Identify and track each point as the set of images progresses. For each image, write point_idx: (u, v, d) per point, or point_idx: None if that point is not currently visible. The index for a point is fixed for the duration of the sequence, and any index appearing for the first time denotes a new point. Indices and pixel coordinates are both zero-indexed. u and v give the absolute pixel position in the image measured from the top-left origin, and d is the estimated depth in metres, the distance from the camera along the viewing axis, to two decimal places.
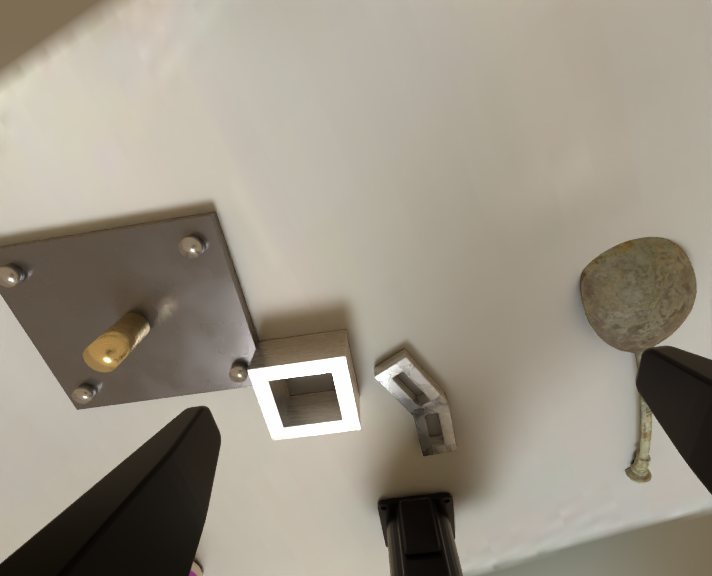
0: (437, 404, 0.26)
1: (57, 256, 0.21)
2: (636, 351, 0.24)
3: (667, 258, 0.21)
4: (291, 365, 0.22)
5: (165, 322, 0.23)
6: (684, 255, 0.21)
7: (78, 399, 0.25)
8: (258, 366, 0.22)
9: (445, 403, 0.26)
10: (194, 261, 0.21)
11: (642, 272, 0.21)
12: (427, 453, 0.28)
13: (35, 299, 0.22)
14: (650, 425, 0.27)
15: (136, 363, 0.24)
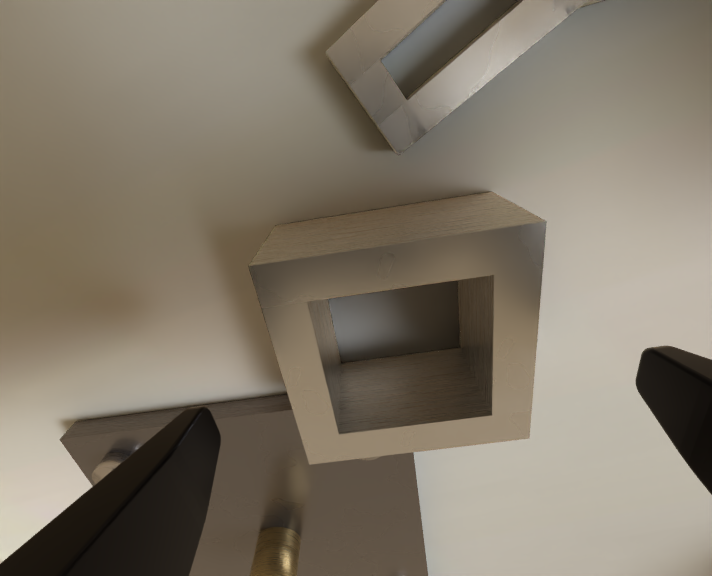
0: None
1: None
2: None
3: None
4: (293, 387, 0.09)
5: (270, 510, 0.14)
6: None
7: None
8: None
9: None
10: None
11: None
12: None
13: None
14: None
15: (350, 548, 0.15)
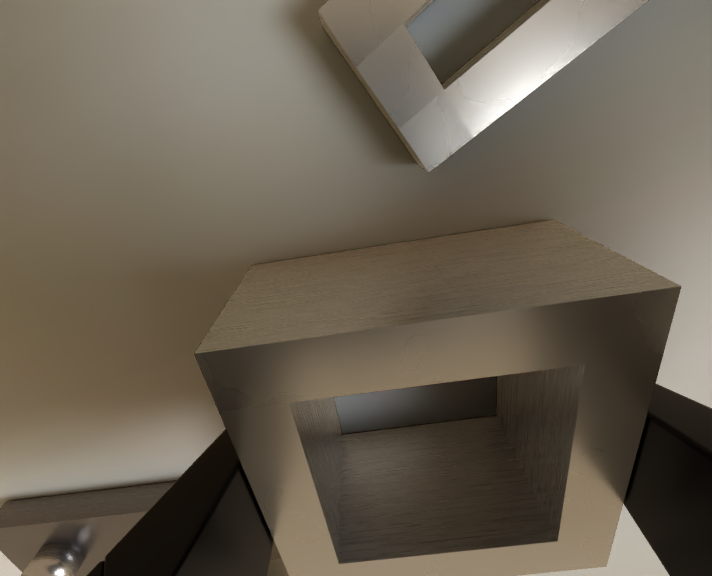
0: None
1: None
2: None
3: None
4: (272, 509, 0.06)
5: None
6: None
7: None
8: None
9: None
10: (98, 559, 0.10)
11: None
12: None
13: None
14: None
15: None
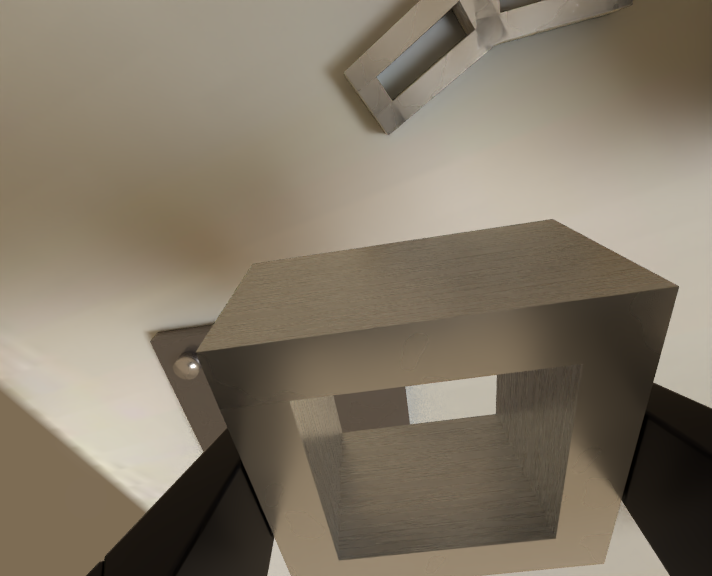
0: None
1: None
2: None
3: None
4: (272, 506, 0.06)
5: None
6: None
7: None
8: None
9: None
10: None
11: None
12: None
13: None
14: None
15: None
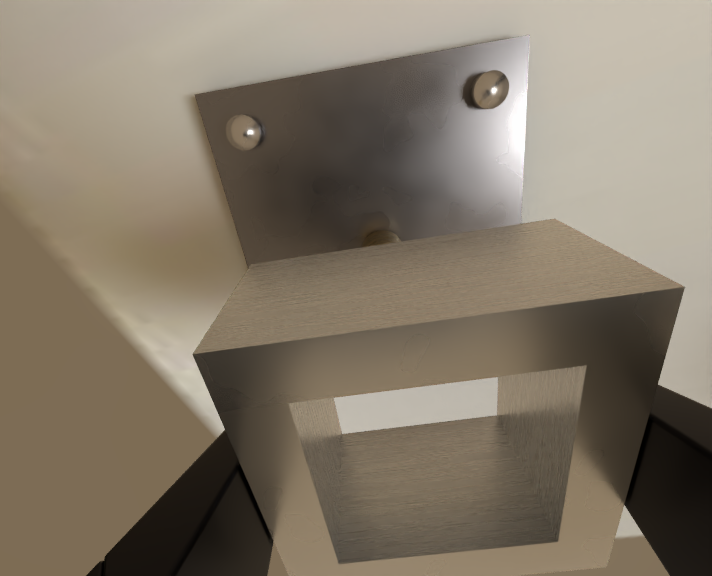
0: None
1: None
2: None
3: None
4: (271, 509, 0.06)
5: (379, 205, 0.15)
6: None
7: None
8: None
9: None
10: (273, 136, 0.14)
11: None
12: None
13: None
14: None
15: None
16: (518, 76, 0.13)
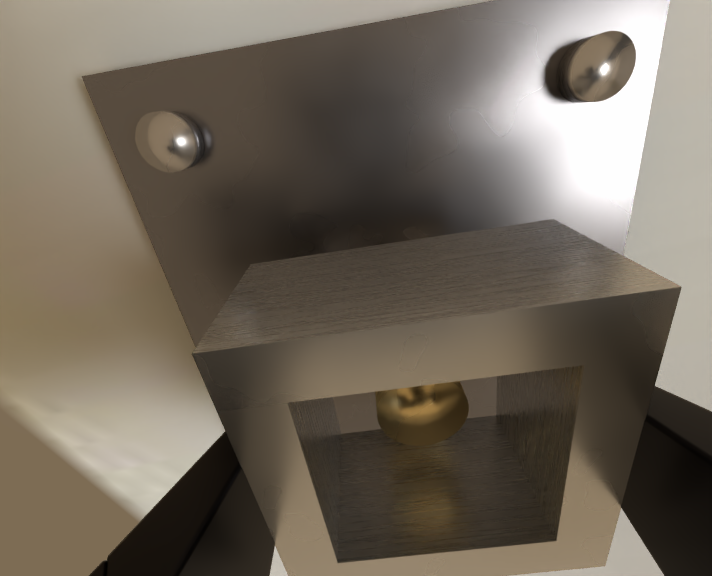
0: None
1: None
2: None
3: None
4: (270, 508, 0.06)
5: None
6: None
7: None
8: None
9: None
10: (223, 148, 0.08)
11: None
12: None
13: None
14: None
15: None
16: (645, 45, 0.07)
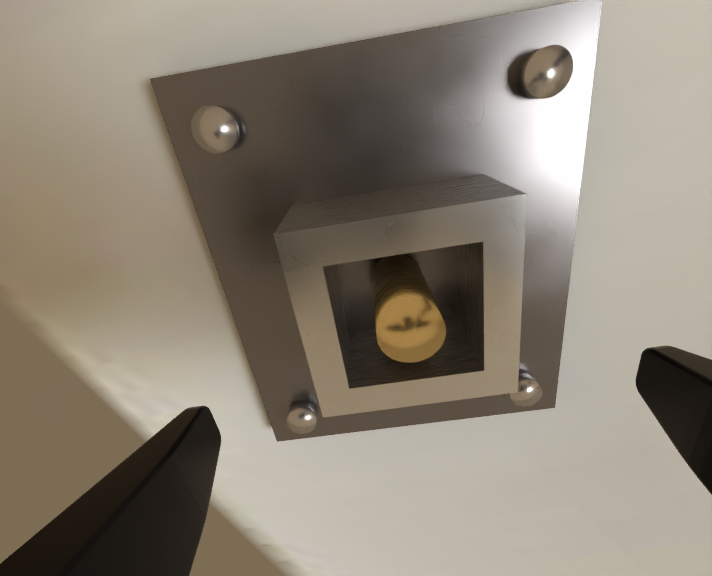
0: None
1: (271, 355, 0.14)
2: None
3: None
4: (309, 345, 0.10)
5: None
6: None
7: (530, 399, 0.14)
8: None
9: None
10: (256, 135, 0.10)
11: None
12: None
13: None
14: None
15: None
16: (583, 54, 0.10)
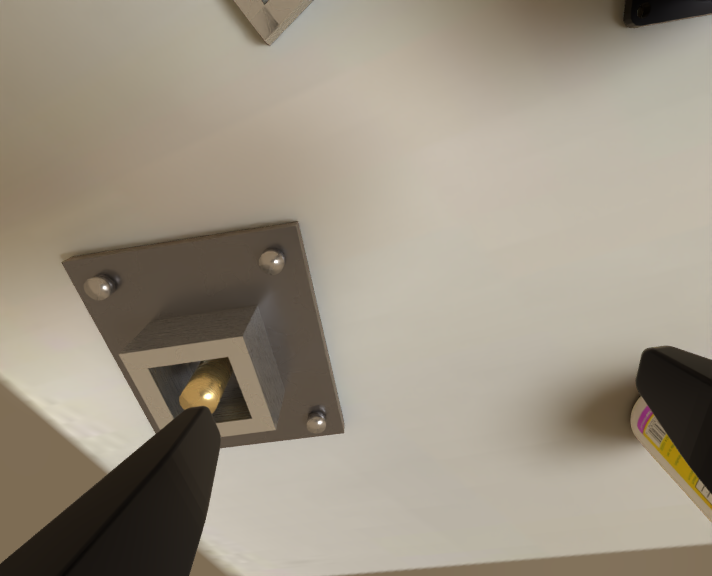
0: None
1: None
2: None
3: None
4: (150, 405, 0.18)
5: None
6: None
7: (319, 429, 0.22)
8: None
9: None
10: (123, 287, 0.19)
11: None
12: None
13: None
14: None
15: None
16: (294, 250, 0.18)
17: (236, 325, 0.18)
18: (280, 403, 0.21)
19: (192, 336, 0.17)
